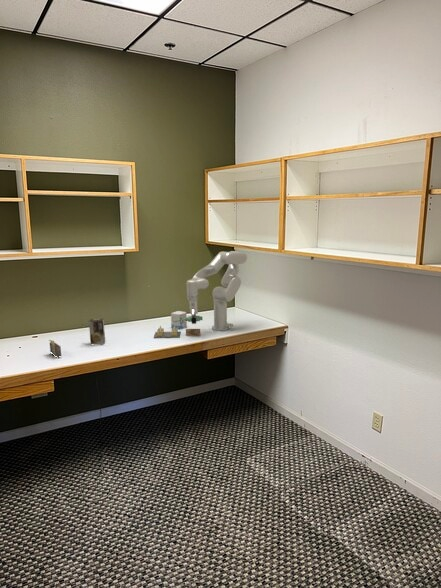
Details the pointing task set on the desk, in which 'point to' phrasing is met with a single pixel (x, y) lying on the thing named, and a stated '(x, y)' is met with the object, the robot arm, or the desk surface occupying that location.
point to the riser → (192, 332)
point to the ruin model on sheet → (55, 348)
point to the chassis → (167, 333)
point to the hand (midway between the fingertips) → (194, 321)
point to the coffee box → (97, 331)
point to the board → (191, 317)
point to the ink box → (178, 320)
